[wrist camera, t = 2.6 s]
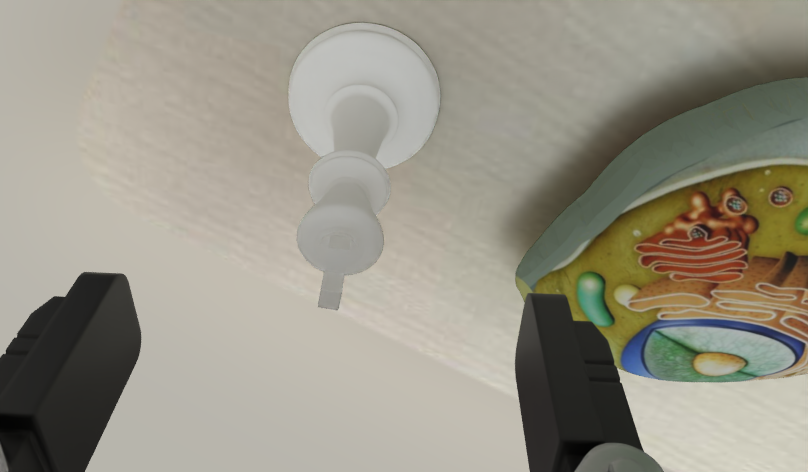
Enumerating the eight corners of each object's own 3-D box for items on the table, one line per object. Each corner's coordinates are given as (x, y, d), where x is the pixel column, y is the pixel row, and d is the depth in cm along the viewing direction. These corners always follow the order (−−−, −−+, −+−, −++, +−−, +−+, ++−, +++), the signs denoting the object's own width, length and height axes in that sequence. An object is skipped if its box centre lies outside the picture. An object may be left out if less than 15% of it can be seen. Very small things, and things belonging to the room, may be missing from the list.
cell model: (975, 349, 25) (614, 521, 22) (810, 211, 30) (502, 337, 27) (1204, 105, 17) (681, 329, 14) (925, -26, 22) (503, 119, 19)
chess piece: (457, 40, 21) (476, 224, 13) (421, 175, 24) (420, 396, 16) (298, 6, 20) (214, 175, 12) (281, 148, 23) (205, 362, 15)
